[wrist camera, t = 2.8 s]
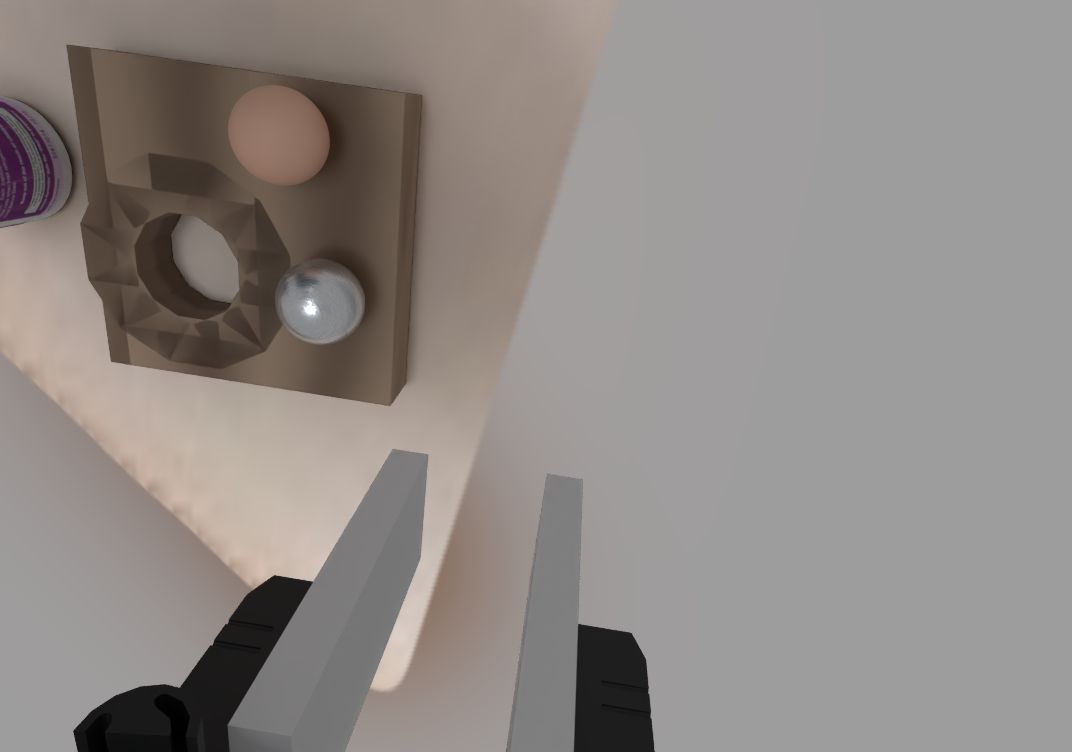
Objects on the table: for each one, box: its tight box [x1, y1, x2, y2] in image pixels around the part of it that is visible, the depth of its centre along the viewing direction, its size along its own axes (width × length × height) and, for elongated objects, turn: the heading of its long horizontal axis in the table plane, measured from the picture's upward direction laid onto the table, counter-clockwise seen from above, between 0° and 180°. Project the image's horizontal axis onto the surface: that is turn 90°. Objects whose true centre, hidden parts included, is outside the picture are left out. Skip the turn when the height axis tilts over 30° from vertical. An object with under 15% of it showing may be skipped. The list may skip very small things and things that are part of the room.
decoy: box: [228, 85, 330, 186], centre depth 23 cm, size 3×3×3 cm
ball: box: [275, 259, 365, 345], centre depth 25 cm, size 3×3×3 cm
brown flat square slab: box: [67, 45, 422, 406], centre depth 28 cm, size 14×13×2 cm
